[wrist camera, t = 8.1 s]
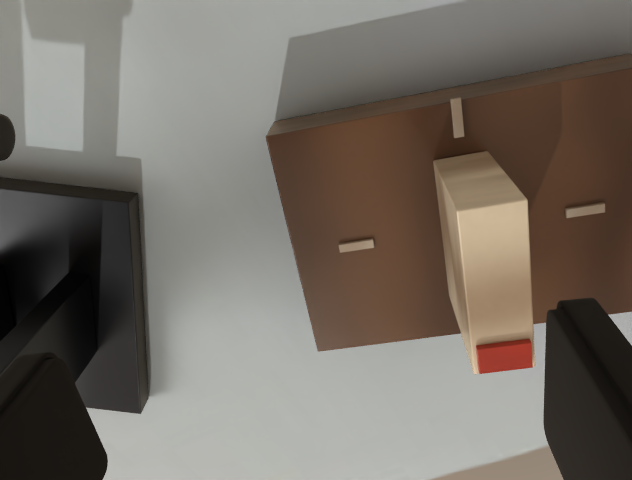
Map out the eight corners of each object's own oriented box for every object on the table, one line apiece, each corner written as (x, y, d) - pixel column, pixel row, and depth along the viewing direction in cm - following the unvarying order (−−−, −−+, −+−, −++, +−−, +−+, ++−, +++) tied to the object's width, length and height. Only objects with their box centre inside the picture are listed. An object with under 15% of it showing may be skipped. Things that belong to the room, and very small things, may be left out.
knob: (432, 160, 20) (458, 214, 15) (487, 150, 20) (530, 202, 15) (449, 296, 22) (475, 379, 18) (498, 289, 22) (538, 372, 17)
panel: (631, 50, 20) (668, 58, 18) (621, 281, 24) (650, 314, 22) (273, 118, 22) (263, 135, 20) (321, 322, 26) (318, 356, 24)
